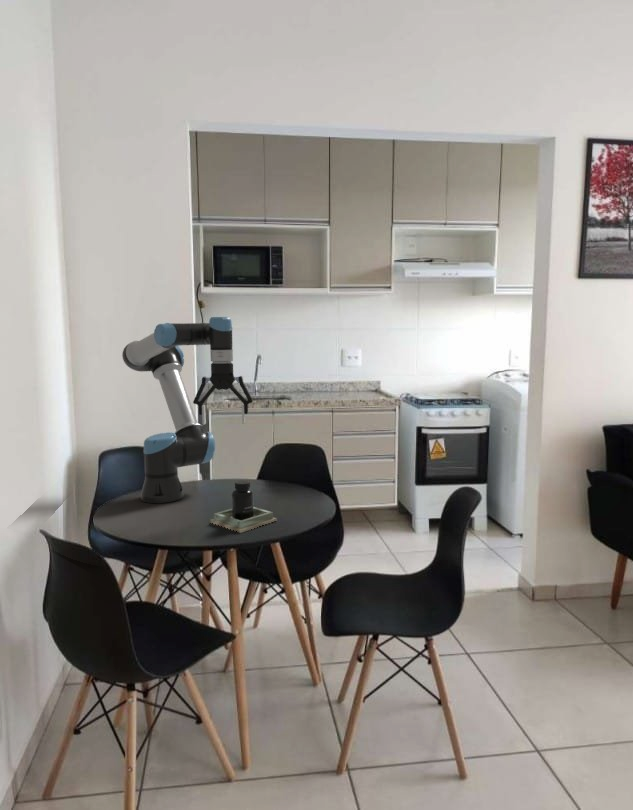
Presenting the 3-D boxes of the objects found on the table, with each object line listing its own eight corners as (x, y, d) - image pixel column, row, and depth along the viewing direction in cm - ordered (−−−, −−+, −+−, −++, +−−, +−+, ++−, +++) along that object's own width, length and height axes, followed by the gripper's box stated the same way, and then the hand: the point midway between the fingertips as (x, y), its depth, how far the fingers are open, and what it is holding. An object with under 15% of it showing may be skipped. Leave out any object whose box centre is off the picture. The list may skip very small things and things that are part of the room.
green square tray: (210, 522, 197) (209, 513, 197) (246, 512, 208) (246, 503, 208) (240, 533, 187) (240, 523, 187) (276, 521, 198) (276, 512, 197)
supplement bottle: (250, 522, 193) (249, 485, 192) (229, 521, 195) (228, 484, 193) (256, 516, 200) (255, 480, 199) (236, 515, 201) (235, 479, 200)
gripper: (183, 363, 207) (185, 426, 210) (257, 362, 208) (259, 424, 211) (187, 362, 215) (189, 422, 217) (259, 361, 215) (260, 421, 218)
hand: (224, 423), depth 214 cm, fingers open, 13 cm apart
